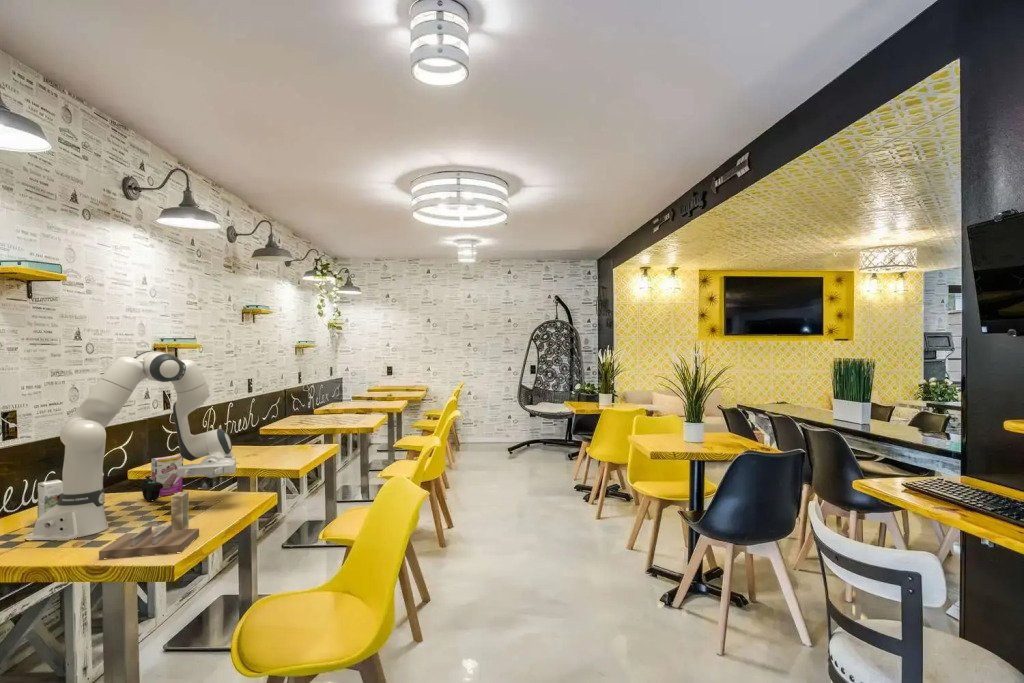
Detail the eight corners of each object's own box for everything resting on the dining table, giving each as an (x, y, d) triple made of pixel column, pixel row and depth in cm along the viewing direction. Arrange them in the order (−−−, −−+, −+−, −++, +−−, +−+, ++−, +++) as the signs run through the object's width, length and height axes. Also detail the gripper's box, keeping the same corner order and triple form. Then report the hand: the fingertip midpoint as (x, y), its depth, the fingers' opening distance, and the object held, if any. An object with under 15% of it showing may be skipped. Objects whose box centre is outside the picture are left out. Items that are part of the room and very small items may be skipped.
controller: (150, 498, 232) (150, 474, 233) (164, 502, 226) (164, 477, 226) (139, 500, 229) (139, 476, 229) (153, 504, 222) (153, 480, 222)
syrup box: (56, 517, 206) (56, 479, 207) (63, 519, 203) (63, 480, 204) (37, 521, 202) (37, 482, 202) (44, 523, 199) (44, 484, 199)
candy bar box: (155, 498, 231) (155, 460, 232) (150, 496, 234) (150, 458, 235) (183, 492, 240) (183, 455, 241) (178, 491, 243) (178, 454, 244)
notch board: (98, 559, 162) (98, 542, 162) (125, 541, 178) (125, 526, 178) (179, 553, 167) (179, 536, 167) (199, 535, 182) (199, 520, 182)
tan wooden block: (171, 535, 183) (171, 496, 184) (178, 529, 189) (178, 492, 189) (181, 534, 184) (181, 496, 184) (188, 529, 190) (188, 491, 190)
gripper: (184, 459, 217) (169, 467, 204) (239, 456, 221) (229, 463, 208) (184, 475, 217) (170, 484, 203) (239, 472, 221) (229, 480, 208)
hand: (200, 473), depth 206 cm, fingers open, 8 cm apart
